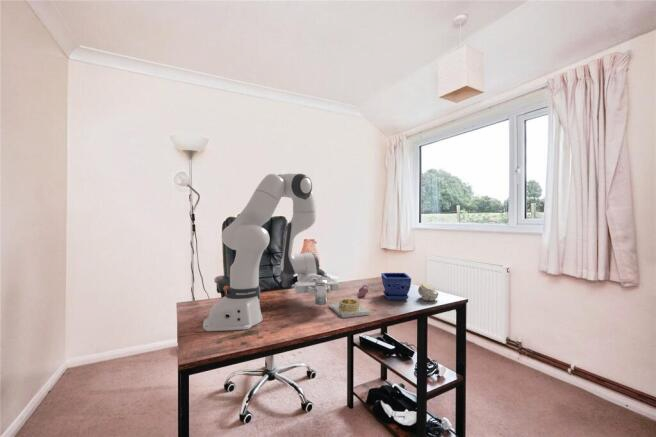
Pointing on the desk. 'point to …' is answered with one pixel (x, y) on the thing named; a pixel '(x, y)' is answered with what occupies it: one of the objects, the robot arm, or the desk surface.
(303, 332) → the desk surface
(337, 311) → the gold ring on slab
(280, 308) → the desk surface
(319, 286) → the salt shaker
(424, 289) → the fossil replica
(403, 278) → the flower pot
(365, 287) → the purple stone
